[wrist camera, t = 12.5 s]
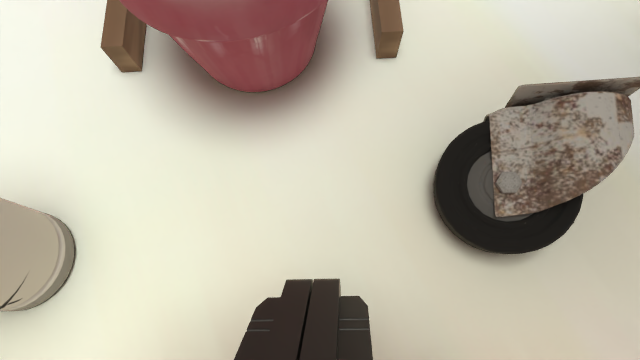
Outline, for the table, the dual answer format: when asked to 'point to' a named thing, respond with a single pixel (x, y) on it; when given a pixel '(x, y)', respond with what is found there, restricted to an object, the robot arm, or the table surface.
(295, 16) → the plant pot
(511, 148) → the caster wheel
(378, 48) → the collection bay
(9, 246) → the travel mug
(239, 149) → the table surface
